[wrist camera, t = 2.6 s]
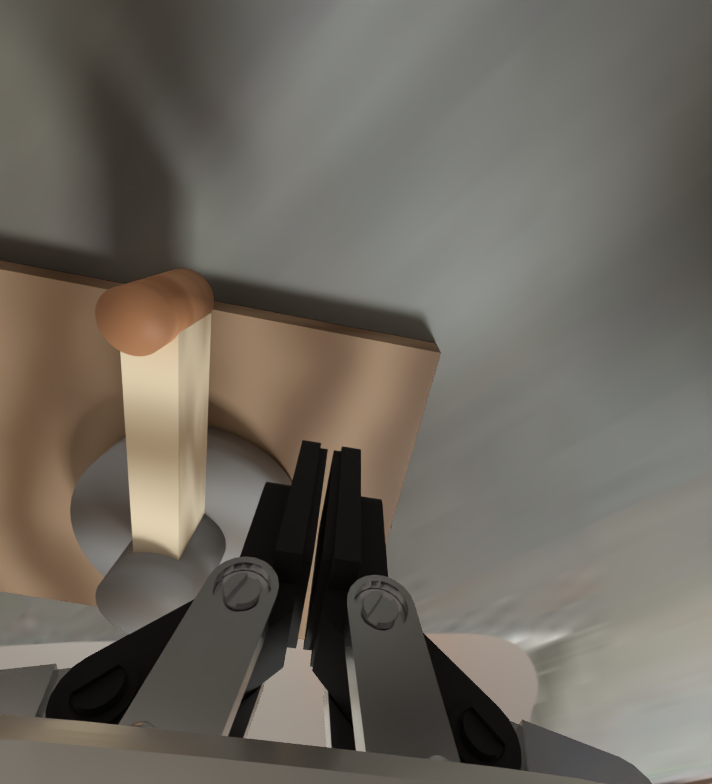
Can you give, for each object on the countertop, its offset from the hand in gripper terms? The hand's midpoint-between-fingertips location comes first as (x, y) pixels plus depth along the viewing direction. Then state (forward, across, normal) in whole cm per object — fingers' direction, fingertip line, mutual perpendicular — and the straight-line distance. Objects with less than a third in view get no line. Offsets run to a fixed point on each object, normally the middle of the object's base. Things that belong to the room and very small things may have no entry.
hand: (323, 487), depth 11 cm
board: (+11, +8, +9) cm, 16 cm away
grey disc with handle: (+9, +6, +6) cm, 12 cm away
